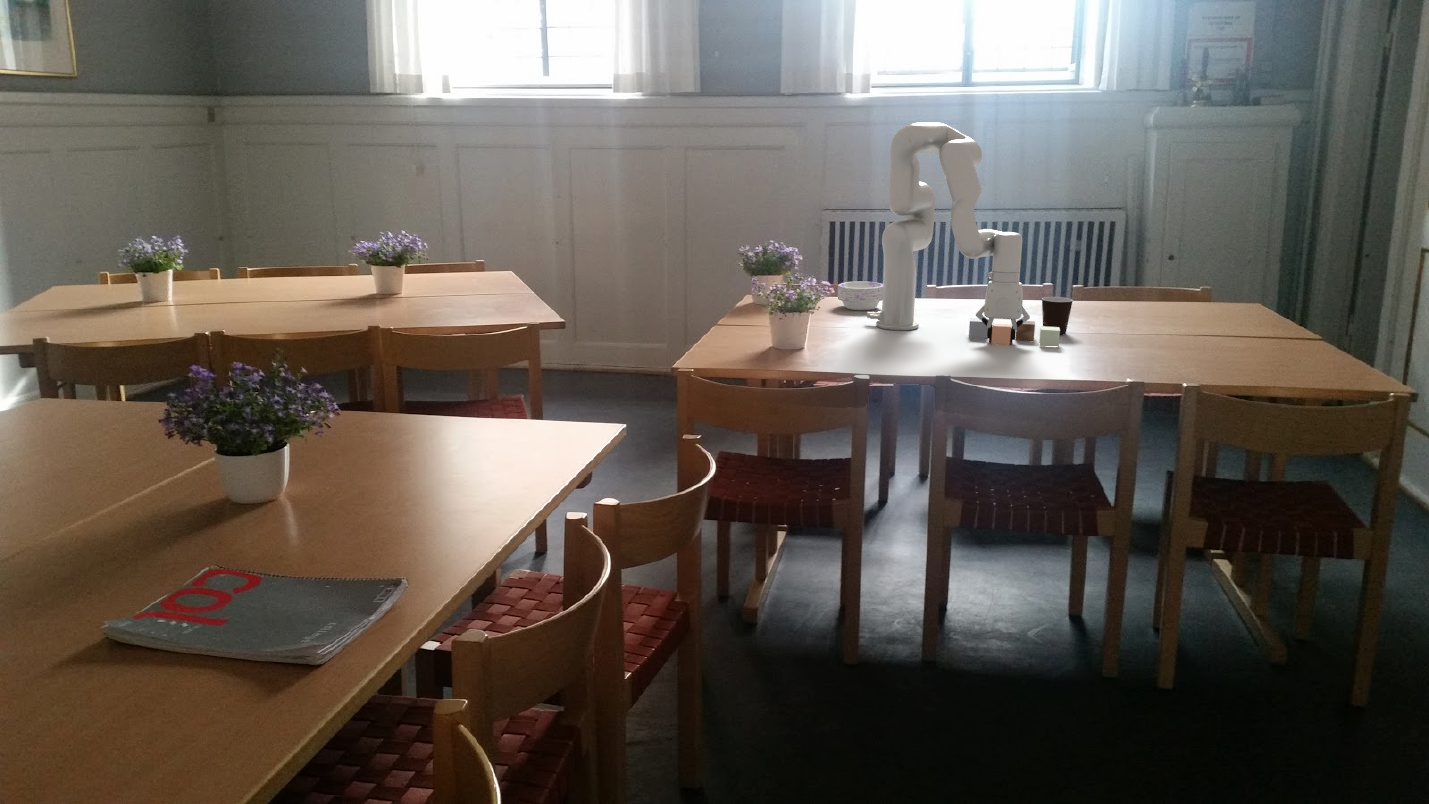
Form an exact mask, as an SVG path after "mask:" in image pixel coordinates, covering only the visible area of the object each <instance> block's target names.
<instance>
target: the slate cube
mask: <svg viewBox="0 0 1429 804" xmlns="http://www.w3.org/2000/svg"><path fill="white" fill-rule="evenodd" d="M986 319H987V320H989V318H986ZM968 325H969V326H968V327H969V329H968V338H969V339H979V340H980V339H982V340H983V339H984V340H987V339H988V338H987V330H988V328H987V326H986V325H985V324H984V323H983V322H982V321H981V320H980V319H979V318H978V317H970V319H969V324H968Z"/></svg>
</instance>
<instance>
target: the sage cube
mask: <svg viewBox="0 0 1429 804" xmlns="http://www.w3.org/2000/svg"><path fill="white" fill-rule="evenodd" d="M1039 331H1040V332H1039V343H1040V346H1058V348H1059V344H1060V336H1061V335H1060V328H1059V327H1045V326H1043V325H1042V326H1041V325H1040V330H1039Z"/></svg>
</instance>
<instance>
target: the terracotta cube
mask: <svg viewBox="0 0 1429 804" xmlns="http://www.w3.org/2000/svg"><path fill="white" fill-rule="evenodd" d="M1011 328H1012V323H1011V324H1010V323H992V341H991V342H990V343H991V345H995V344H998V345H997V346H999V345H1000V346H1010V345H1011V343H1010V335H1011Z"/></svg>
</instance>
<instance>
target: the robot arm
mask: <svg viewBox="0 0 1429 804" xmlns="http://www.w3.org/2000/svg"><path fill="white" fill-rule="evenodd" d="M889 150H890V153H889V155H890V156H889V157H890V159H889V161H890V164H889V165H890V171H889V185H888V207H889V210H890V212H892V213H893V215H896V216H901V217H903V216H905V218H904V219H901V220H896V221H893V222H891V223H889V224H888V225H887V226H886V227H885V228H884V230H883V232H882V235H881V245H882V251H883V280H882V284H883V300H882V305H881V310H880V311H877V312H874V311H867V312H866V318H867V319H871V320H877V321H875V323H876V324H875V325H876V327H877V328H880V329H883V330H891V331H911V330H916V329H918V328H919V322H917V321H915V317H914V316H915V301H916V300H915V297H916V279H917V278H916V277H917V262H916V258H915V254H914V252H916V251H921V250H924V249H926V248H927V247H928V246H929V245H930V243H931V242H932V239H933V236H934V227H935V226H934V225H935V223H934V222H935V210H936V209H935V207H936V198H935V193H934V190H933V189H932V187H931V186H930V185H929V184H927V183H926V182H923V181H920V175H921V172H920V171H921V167H920V162H919V158H918V155H920V154H930V153H931V154H932V153H933V154H938V159H939V163H940V165H941V169H942V173H943V175H944V178H945V181H946V184H947V187H948V190H949V193H950V196H951V200H952V202H951V208H950V209H951V210H950V226H951V231H952V234H953V236H954V240H955V243H956V246H957V248H958V250H959V252H960V253H961V255H963V256H964V257H965V258H968V259H971V260H973V259H978V258H985V257H990V256H992V265H991V271H990V272H986V275H985V277H986V278H989V279H990V281H988V283H987V287H986V293H985V299H984V304H983V305H982V307H981V308H980V309H978V311H977V312H976V313H975V316H976V318H979V319H980V320H981V321H982V322H983V323H984V324H985V325H986V326H987V328H988V330H987V339H988V340H989V343H991V341H992V327H993V322H994V321H995V320H997V319H998V320H1010V321H1011V335H1010V344H1013V341H1015V339H1016V329H1017V328H1018V327H1019V326H1020V325H1021V324H1022V323H1024V322H1025V321H1029V320H1030V319H1031V316H1030V315H1029V313H1028V312H1027V311H1026V309H1025V308H1024V306H1023V297H1024V296H1023V292H1024V291H1023V284H1022V282H1020V278H1021V277H1020V275H1021V263H1022V253H1023V252H1022V249H1023V237H1022V234H1021V233H1019V232H1015V231H1014V232H1012V231H998V230H996V229H990V228H983V229H978V224H977V221H976V216H975V208H976V204H977V201H978V200H979V198H980V196H981V195H982V193H983V188H982V185H981V182H980V180H979V176H978V173H977V169H976V167H978V166H979V165H980V163H981V161H982V159H983V151H982V148H981V146H980V145H979V143H978V142H977V141H976V140H974V139H972V138H971V137H970V136H967V135H966V134H963V133H962V132H960V131H958V130H957V129H955V128H953V127H951V126H950V125H947V124H945V123H942V122H936V121H935V122H913V123H910V124H908V125H905V126H903V127H901V128H900V129H899V130H898V131H897V132H896V133H895V134H894V136H893V138H892V140H891V142H890V149H889ZM983 314H984V315H983ZM987 319H988V320H987ZM1017 320H1018V321H1017Z"/></svg>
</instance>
